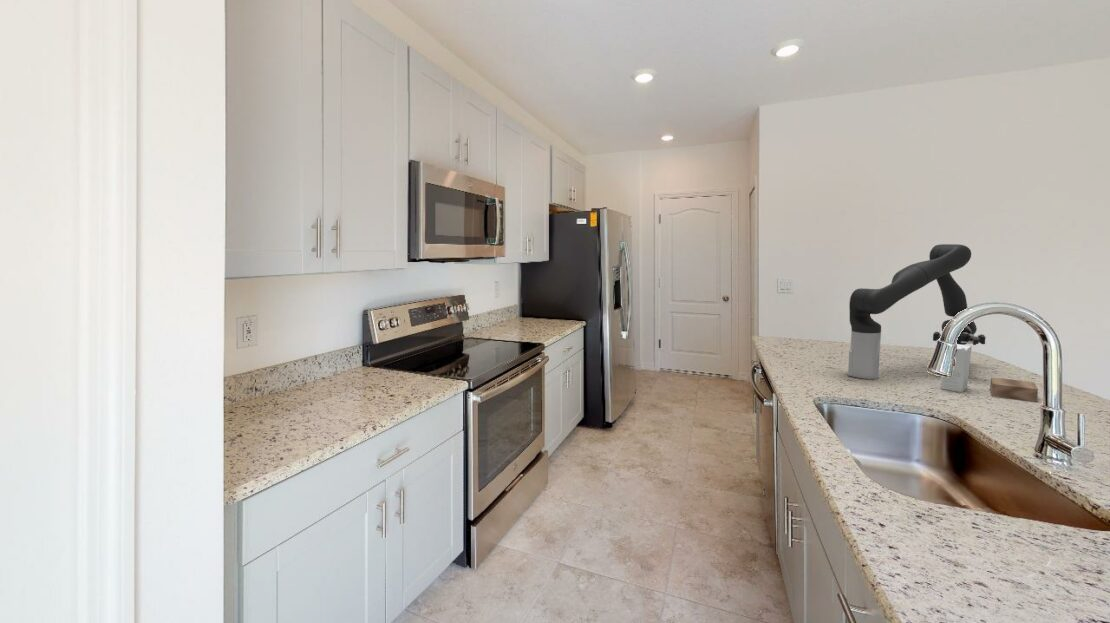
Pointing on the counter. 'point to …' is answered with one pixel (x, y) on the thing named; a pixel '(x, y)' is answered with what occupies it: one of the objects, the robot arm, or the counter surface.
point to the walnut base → (1013, 389)
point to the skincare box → (959, 370)
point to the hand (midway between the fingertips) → (958, 341)
